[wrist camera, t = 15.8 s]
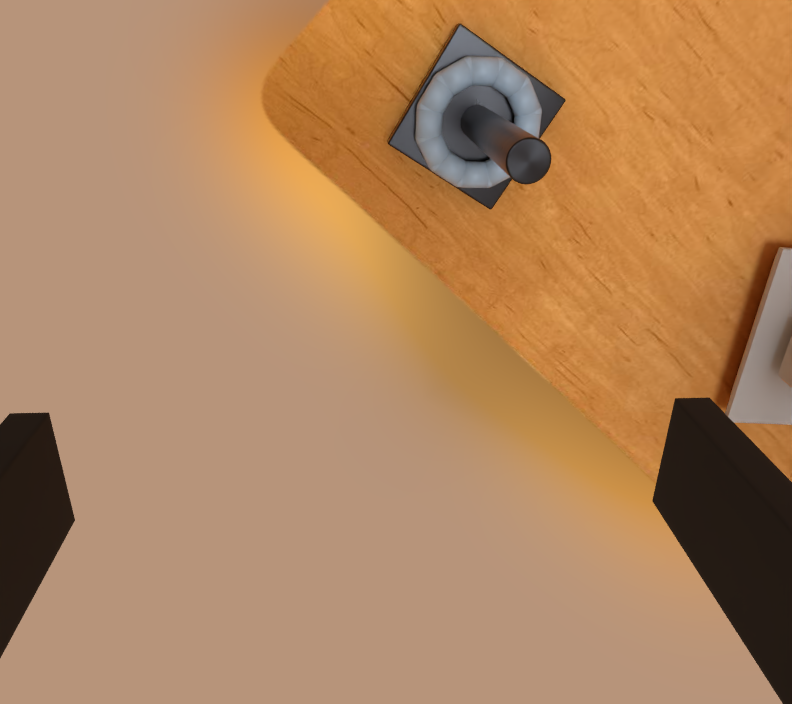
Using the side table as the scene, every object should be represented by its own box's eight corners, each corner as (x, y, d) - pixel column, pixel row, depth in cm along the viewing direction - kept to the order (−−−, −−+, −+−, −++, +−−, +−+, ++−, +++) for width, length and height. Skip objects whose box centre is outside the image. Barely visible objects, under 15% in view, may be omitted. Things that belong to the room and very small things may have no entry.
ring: (391, 143, 42) (392, 147, 41) (460, 29, 40) (464, 29, 38) (490, 206, 44) (494, 213, 43) (561, 102, 42) (569, 104, 40)
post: (386, 141, 43) (401, 191, 30) (457, 23, 40) (509, 19, 27) (488, 206, 45) (545, 281, 32) (562, 98, 43) (658, 130, 29)
